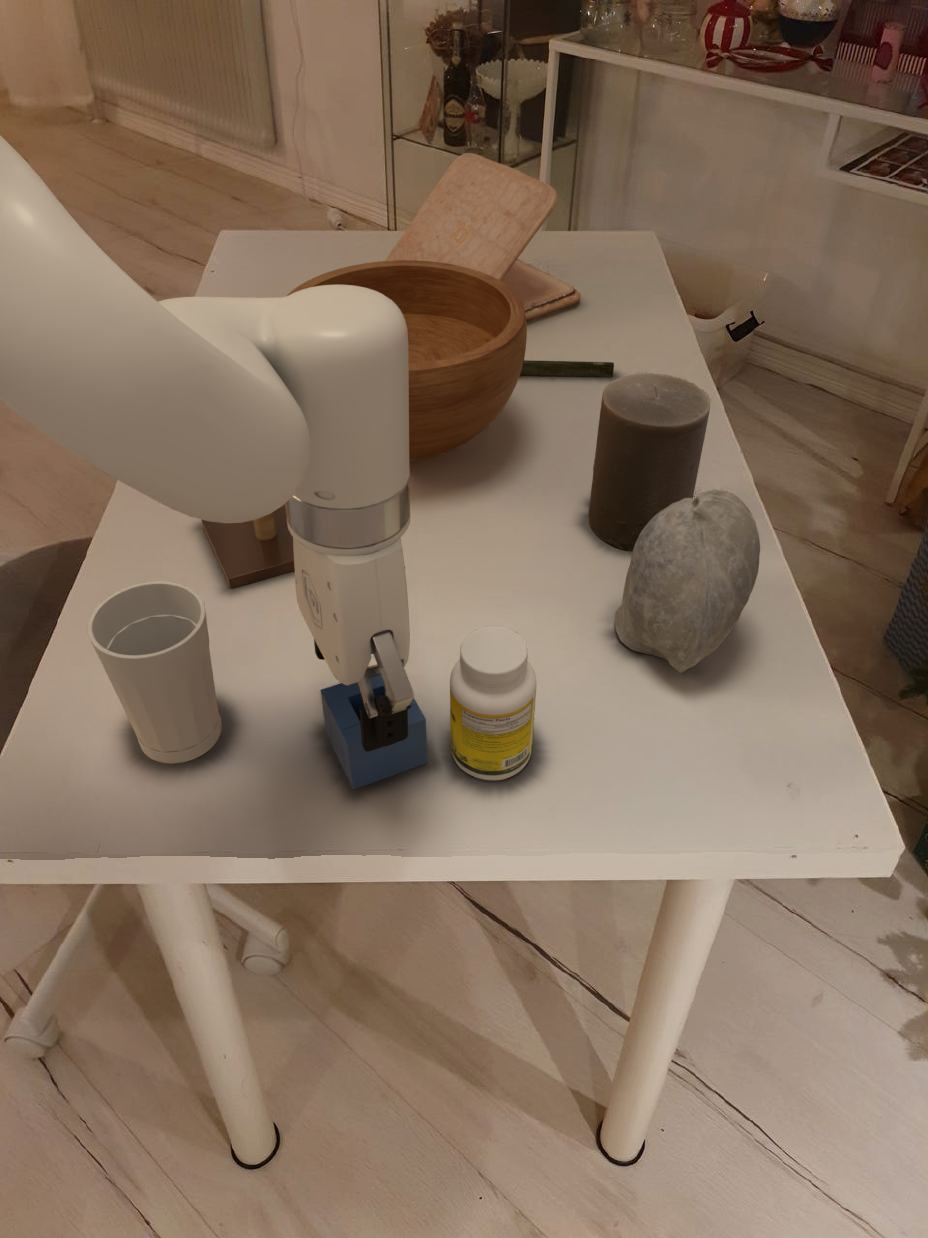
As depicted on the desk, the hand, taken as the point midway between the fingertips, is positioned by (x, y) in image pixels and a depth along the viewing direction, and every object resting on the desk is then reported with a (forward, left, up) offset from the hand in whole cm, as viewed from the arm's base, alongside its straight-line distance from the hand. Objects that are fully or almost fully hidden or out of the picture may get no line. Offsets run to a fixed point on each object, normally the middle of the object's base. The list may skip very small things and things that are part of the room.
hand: (359, 695), depth 70 cm
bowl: (+20, +39, -7) cm, 44 cm away
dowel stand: (+1, +28, -6) cm, 29 cm away
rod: (+34, +49, -7) cm, 60 cm away
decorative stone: (+29, +1, -7) cm, 30 cm away
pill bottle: (+9, -4, -7) cm, 12 cm away
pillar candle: (+35, +16, -7) cm, 39 cm away
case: (+43, +68, -7) cm, 81 cm away
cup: (-12, +8, -7) cm, 16 cm away
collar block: (+1, 0, -6) cm, 6 cm away
